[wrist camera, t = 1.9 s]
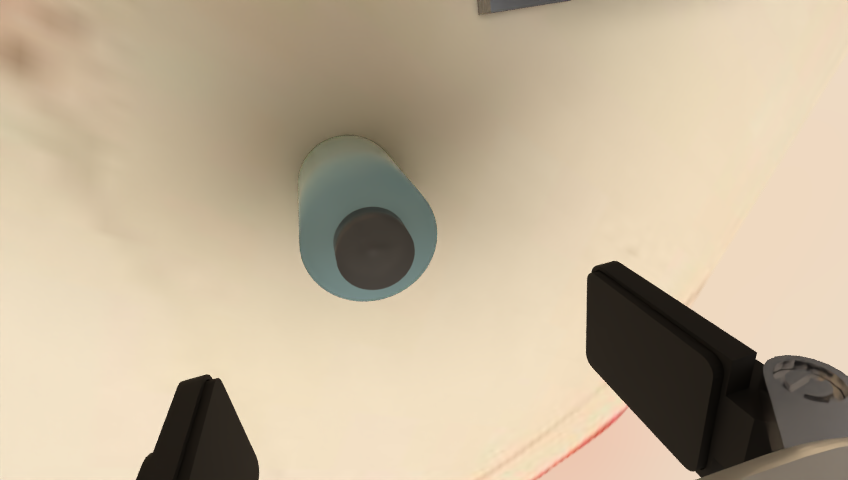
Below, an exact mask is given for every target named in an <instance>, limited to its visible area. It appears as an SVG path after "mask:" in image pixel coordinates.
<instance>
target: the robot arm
mask: <svg viewBox="0 0 848 480" xmlns="http://www.w3.org/2000/svg"><path fill="white" fill-rule="evenodd" d="M756 354H757V352H755V351H754V350H752V349H751V348H749V347H748V346H746V345H745V344H743V343H742V342H740V341H738V340H737V339H736V338H734V337H732V336H731V335H729V334H728V333H726V332H724V331H723V330H722V329H720V328H719V327H717V326H716V325H714V324H713V323H711V322H709V321H708V320H706V319H705V318H703V317H702V316H700V315H699V314H697V313H696V312H694V311H693V310H691V309H690V308H688V307H687V306H685V305H684V304H682V303H681V302H679V301H678V300H676V299H674V298H673V297H671V296H670V295H668V294H667V293H665V292H664V291H662V290H661V289H659V288H658V287H656V286H655V285H653V284H652V283H650V282H649V281H647V280H645V279H644V278H642V277H641V276H639V275H638V274H636V273H635V272H633V271H632V270H630V269H629V268H627V267H626V266H624V265H623V264H621V263H620V262H617V261H612V262H608V263H605V264H601V265H598V266H595V267H594V268H593V269H592V273H590V274H589V275H588V277H587V326H586V356H587V359H588V362H589V363H590V365H591V366H592V368H593V369H594V370H595V371H596V372H597V373H598V374H599V375H600V376H601V377H602V379H603V380H604V381H605V382H606V383H607V384H608V385H609V386H610V387H611V388H612V389H613V390H614V391H615V393H616V394H617V395H618V396H619V397H620V398H621V399H622V400H623V401H624V402H625V403H626V404H627V405H628V407H629V408H630V409H631V410H632V411H633V412H634V413H635V414H636V415H637V416H638V417H639V418H640V419H641V421H642V422H643V423H644V424H645V425H646V426H647V427H648V428H649V429H650V430H651V431H652V432H653V433H654V435H655V436H656V437H657V438H658V439H659V440H660V441H661V442H662V443H663V444H664V445H665V446H666V447H667V449H668V450H669V451H670V452H671V453H672V454H673V455H674V456H675V457H676V458H677V459H678V460H679V462H680V463H681V464H682V465H683V466H684V467H685V468H686V469H688V470H690V471H696V473H697V474H698V475H699V476H700V477H701V478H699V479H697V480H848V376H846V375H845V374H844V373H843V372H841V371H839V370H838V369H835V368H834V367H832V366H830V365H828V364H825V363H823V362H820V361H817V360H815V359H811V358H806V357H801V356H791V355H785V356H777V357H774V358H771V359H769V360H767V362H766V363H765V364H762V363H761V362H759V361H757V360H756ZM258 479H259V465H258V460H257V457H256V455H255V453H254V451H253V448H252V446H251V444H250V442H249V440H248V437H247V435H246V433H245V431H244V429H243V427H242V424H241V422H240V420H239V418H238V416H237V413H236V411H235V409H234V407H233V405H232V403H231V400H230V398H229V396H228V394H227V392H226V389H225V387H224V385H223V383H222V381H221V380H220V379H219V378H216V379H212V377H211V376H210V375H207V374H206V375H203V376H199V377H196V378H192V379H189V380H185V381H182V382H180V383H179V385H178V387H177V390H176V392H175V395H174V398H173V400H172V403H171V406H170V408H169V411H168V414H167V416H166V419H165V422H164V425H163V427H162V430H161V433H160V435H159V438H158V441H157V443H156V446H155V449H154V451H153V453H150V454H149V455H148V456H147V457H146V458H145V460H144V462H143V464H142V466H141V468H140V471H139V473H138V476H137V479H136V480H258Z"/></svg>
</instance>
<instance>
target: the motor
mask: <svg viewBox="0 0 848 480" xmlns="http://www.w3.org/2000/svg"><path fill="white" fill-rule="evenodd" d="M563 1H569V0H478V11H479V15H482V14H488V13H494V12H500V11H507V10H513V9H519V8H525V7H532V6H538V5H544V4H550V3H557V2H563Z"/></svg>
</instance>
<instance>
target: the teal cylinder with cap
mask: <svg viewBox="0 0 848 480" xmlns="http://www.w3.org/2000/svg"><path fill="white" fill-rule="evenodd" d="M298 206H299V244H300V253H301V257H302V261H303V263H304V266H305V268H306V269H307V271H308V273H309V275H310V276H311V277H312V278H313V280H314V281H315V282H316V283H317V284H318V285H319V286H321V287H322V288H323V289H325V290H326V291H328V292H329V293H331V294H333V295H335V296H338V297H340V298H344V299H348V300H353V301H375V300H380V299H384V298H387V297H390V296H393V295H395V294H397V293H399V292H401V291H403V290H404V289H406V288H408V287H409V286H410V285H411V284H413V283H414V282H415V281H416V280H417V279H418V278H419V277H420V276H421V275H422V273H423V272H424V271H425V269H426V268H427V266H428V265H429V263H430V261H431V259H432V257H433V254H434V251H435V247H436V242H437V225H436V221H435V217H434V214H433V211H432V209H431V207H430V206H429V204H428V202H427V201H426V200H425V198H424V197H423V196H422V194H421V193H420V192H419V191H418V190H417V189H416V187H415V186H414V185H413V184H412V183H411V181H410V180H409V179H408V178H407V177H406V176H405V174H404V173H403V172H402V171H401V170H400V168H399V167H398V166H397V165H396V164H395V163H394V161H393V160H392V159H391V158H390V157H389V155H388V154H387V153H386V152H385V151H384V150H383V149H382V148H381V147H380V146H378V145H377V144H376V143H374V142H372V141H370V140H368V139H366V138H362V137H359V136H352V135H344V136H337V137H334V138H330V139H328V140H326V141H324V142H322V143H320V144H319V145H317V146H316V147H315V148H314V149H313V150H312V151H311V152H310V153H309V154H308V155H307V157H306V158H305V160H304V162H303V164H302V166H301V169H300V172H299V176H298Z"/></svg>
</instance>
